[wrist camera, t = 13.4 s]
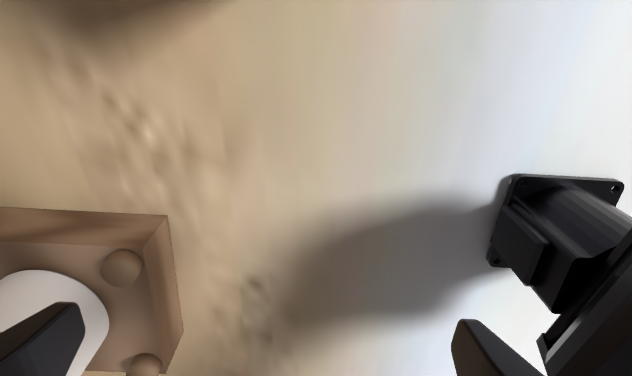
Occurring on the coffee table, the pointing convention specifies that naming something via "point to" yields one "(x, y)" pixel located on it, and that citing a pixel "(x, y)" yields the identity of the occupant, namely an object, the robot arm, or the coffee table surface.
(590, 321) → the robot arm
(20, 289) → the can
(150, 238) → the base brick
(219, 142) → the coffee table surface
